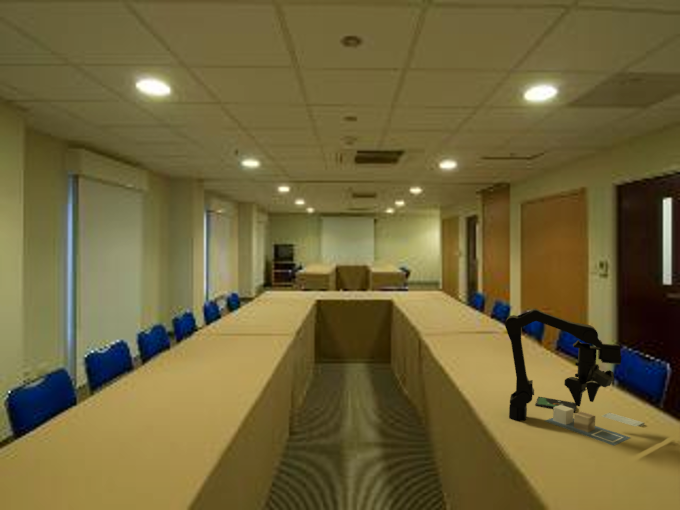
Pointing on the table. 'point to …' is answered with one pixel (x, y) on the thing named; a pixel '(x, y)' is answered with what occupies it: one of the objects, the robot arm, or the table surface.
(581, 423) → the maple cube
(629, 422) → the hard drive
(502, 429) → the table surface
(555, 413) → the cream cube
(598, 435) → the board
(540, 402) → the disk drive
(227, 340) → the table surface
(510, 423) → the table surface
